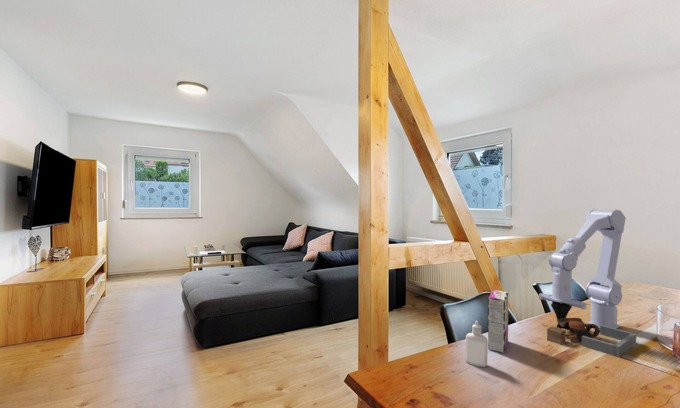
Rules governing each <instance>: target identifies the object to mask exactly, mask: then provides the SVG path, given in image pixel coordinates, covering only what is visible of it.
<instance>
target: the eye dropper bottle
mask: <svg viewBox="0 0 680 408" xmlns="http://www.w3.org/2000/svg"><path fill="white" fill-rule="evenodd" d="M471 329H472V330H471V332H468V333H467V334H466V335H465V359H464V360H465V363H467V364H469V365H472V366H476V367H481V368H485V367H487V365H488V338H487V336H485V335H484V334H482V326H481V325H480V323H479V320H475V322H474V324H472V326H471Z"/></svg>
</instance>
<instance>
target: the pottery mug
mask: <svg viewBox="0 0 680 408" xmlns="http://www.w3.org/2000/svg"><path fill="white" fill-rule="evenodd" d="M582 321H583V319H582V318H580V317H566V318H563V319H558V320H557V319H556V322H557V324H556V326H555V327H557V328H560V329H564V330H566V331H569V333H571V334H572V335H569V336H568V338H569V340H570V343H571V344H580V343H581V344H582V336H586V337H590V338H593V339H595V338H598V336H599V335H601V334H600V328H599V327H598V326H597V325H595V324H586V323H585V322H584V321H583V322H584V323H583V322H582ZM592 329H593V333H591V332H590V331H591V330H592Z"/></svg>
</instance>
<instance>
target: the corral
mask: <svg viewBox="0 0 680 408" xmlns="http://www.w3.org/2000/svg"><path fill="white" fill-rule="evenodd" d="M599 329H600V334H599V335H602V336H605V337H609V338H613V339H617V340H619V341H618V342H617V343H615V344H614V343H610V342H607V341H603V340H601V339H596V338H590V337H586V336H582V343H581V346H582V347H585V348H588V349H591V350H595V351H597V352H601V353H603V354H607V355H611V356H614V357H617V358H619V357H620V356H623V354H625V351H626V352H627V351H628V350H629V349H631V348H632V347H633V346H634V345H636V344H637V333H635V332H631V331H627V330H622V329H619V328H617V329H615V328H611V327H607V326H603V325H601V326H600V328H599ZM631 346H632V347H631ZM630 347H631V348H630Z"/></svg>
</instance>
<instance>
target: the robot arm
mask: <svg viewBox="0 0 680 408" xmlns="http://www.w3.org/2000/svg"><path fill="white" fill-rule="evenodd" d="M626 219H627V218H626V215H624V213H623V212H622V210H621V209H594V208H593V209H590V210H589V211H588V212H587V214H586V215H585V222H584V224H583V225H582V226H581V228H580V229H579V231H578V233H577V234H576V235H575V237H569V238H568V239H567V240H566V242H565V243H564V245H562V247H561V248H560V249H559V251H556V252H554V253H552V254H551V255H550V257H549V259H548V263H549V265H550V268H551V269H550V270H551V272H552V292H551V293H552V294H549V293H548V294H547V293H538V300H543V301H548V302H551V303H550V306H551V308H552V310H553V311H554V314H555V317H556V321H557V320H558V319H563V318H567V316H568V314H569V312H570V310H571V309H572V307H575V308H579V309H581V310H586V309H587V302H584V301H580V300H576V299H573V298H572V284H573V283H572V282H573V281H572V279H573V273H572V272H573V270H574V269H575V268H576V267H577V265H578V264H577V263H578V259H579V257H580V255H581V254H582V253H583V252H584V250H585V249H586V248H587V245H586V243H587V241H589V239H590V238H591V237H592V236H593V235H594V234H595V233H596V232H597V231H598V232H600V234H602V241H601V247H600V253H599V258H598V262H597V264H598V265H597V270H596V274H595V275H594V276H592V277H590V278H589V279H588V283H587V285H586V286H585V294H586V295H585V296H586V297H587V298H588V301H590V320H589V321H588V322H587V323H585V324H595V325H597V326H598V327H599V329H600V326H601V325H603V326H607V327H611V328H615V329H619V328H620V327H621V325H620V324H618V308H617V306H618V305H619V304H620V303H621V302H622V299H623V294H622V285H621V284H620V283H619V282H618V281H617V280H616V279H615V276H616V270H617V264H618V259H619V252H620V246H621V240H622V235H623V233H624V230H625V224H626Z"/></svg>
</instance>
